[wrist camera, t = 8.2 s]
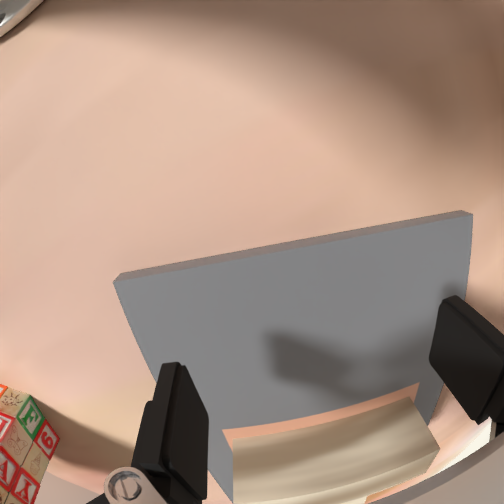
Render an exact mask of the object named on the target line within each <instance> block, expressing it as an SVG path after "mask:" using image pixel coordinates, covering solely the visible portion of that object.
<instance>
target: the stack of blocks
mask: <svg viewBox="0 0 504 504" xmlns="http://www.w3.org/2000/svg"><path fill="white" fill-rule="evenodd" d="M59 439H60V438H59V437H58V436H57V434H56V433H55V432H54V430H53V429H52V427H51V426H50V425H49V423H48V422H47V420H46V419H45V418H44V416H43V415H42V413H41V412H40V410H39V408H38V407H37V405H36V404H35V402H34V400H33V399H32V397H31V395H29V394H27V393H23V392H20V391H17V390H14V389H11V388H8V387H7V386H4V385H1V384H0V504H34V502H35V499H36V496H37V494H38V491H39V488H40V483H41V481H42V478H43V476H44V473H45V471H46V468H47V466H48V464H49V461H50V460H51V458H52V455H53V453H54V451H55V448H56V446H57V444H58V442H59Z"/></svg>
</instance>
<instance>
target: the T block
mask: <svg viewBox="0 0 504 504" xmlns="http://www.w3.org/2000/svg"><path fill="white" fill-rule="evenodd" d="M439 450H440V447H439V445H438V444H437V442H436V440H435V438H434V437H433V435H432V433H431V431H430V430H429V428H428V426H427V425H426V423H425V421H424V420H423V418H422V416H421V415H420V413H419V411H418V410H417V408H416V406H415V405H414V403H413V401H412V400H411V398H410V397H406V398H403V399H401V400H398V401H395V402H393V403H390V404H387V405H384V406H381V407H378V408H375V409H372V410H369V411H366V412H363V413H359V414H356V415H353V416H349V417H346V418H342V419H338V420H335V421H331V422H327V423H323V424H318V425H314V426H309V427H305V428H300V429H295V430H290V431H284V432H279V433H273V434H266V435H260V436H252V437H244V438H235V439H233V504H364V503H365V500H366V498H367V496H368V495H371V494H374V493H377V492H380V491H383V490H385V489H388V488H391V487H393V486H396V485H398V484H401V483H403V482H406V481H408V480H410V479H413V478H415V477H417V476H419V475H422V474H424V473H426V471H427V470H428V468H429V467H430V465H431V463H432V462H433V460H434V459H435V457H436V455H437V454H438V452H439Z"/></svg>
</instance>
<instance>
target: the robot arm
mask: <svg viewBox="0 0 504 504" xmlns="http://www.w3.org/2000/svg"><path fill="white" fill-rule="evenodd" d="M43 1H44V0H0V37H1V36H2V35H4V34H5V33H7V32H8V31H9V30H11V29H12V28H13V27H14V26H16V25H17V24H18V23H19V22H20V21H22V20H23V19H24V18H25V17H26V16H27V15H29V14H30V13H31V12H32V11H33V10H34V9H35V8H36V7H37V6H38V5H39V4H40V3H42V2H43ZM429 362H430V365H431V366H432V367H433V369H434V370H435V371H436V372H437V374H438V375H439V376H440V378H441V379H442V380H443V382H444V383H445V384H446V386H447V387H448V388H449V390H450V391H451V392H452V394H453V395H454V396H455V398H456V399H457V401H458V402H459V403H460V405H461V406H462V408H463V409H464V410H465V412H466V413H467V415H468V416H469V417H470V419H471V420H475V421H476V423H477V424H478V425H479V424H481V423H482V422H484V421H485V420H487V419H488V417H489V416H490V418H491V419H492V423H491V432H490V440H489V443H487V444H486V445H484V446H483V447H482V448H480V449H479V450H477V451H476V452H474V453H472V454H471V455H469V456H468V457H466V458H464V459H463V460H461V461H460V462H458V463H456V464H455V465H452V466H451V467H449V468H447V469H445V470H444V471H442V472H440V473H438V474H436V475H434V476H432V477H430V478H428V479H426V480H424V481H422V482H420V483H418V484H416V485H414V486H411V487H409V488H407V489H405V490H402V491H400V492H398V493H395V494H393V495H390V496H388V497H385V498H382V499H380V500H377V501H374V502H371V503H369V504H504V335H503V334H502V333H501V332H500V331H499V330H498V329H496V328H495V327H494V326H493V325H492V324H491V323H490V322H488V321H487V320H486V319H485V318H484V317H483V316H482V315H480V314H479V313H478V312H477V311H476V310H474V309H473V308H472V307H471V306H470V305H468V304H467V303H466V302H465V301H464V300H462V299H461V298H460V297H459V296H457V295H453V296H450V297H448V298H445V299H443V300H442V302H441V304H440V305H439V309H438V314H437V320H436V325H435V330H434V335H433V340H432V345H431V349H430V353H429ZM208 437H209V416H208V413H207V410H206V408H205V406H204V404H203V402H202V400H201V398H200V396H199V393H198V391H197V389H196V387H195V385H194V383H193V380H192V378H191V376H190V374H189V371H188V369H187V367H186V366H185V365H181V364H180V363H179V362H170V363H163V364H162V365H161V368H160V372H159V376H158V380H157V384H156V388H155V392H154V396H153V400H152V401H148V402H147V403H146V405H145V408H144V412H143V416H142V420H141V424H140V429H139V433H138V437H137V441H136V446H135V450H134V454H133V459H132V464H131V467H120V468H118V469H115V470H114V471H112V472H111V473H110V474H109V475H108V476H107V478H106V479H105V482H104V492H105V493H103V494H101V495H100V496H98V497H97V498H95V499H93V500H92V501H90V502H88V503H86V504H202V500H205V499H206V498H207V472H208Z"/></svg>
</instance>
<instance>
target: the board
mask: <svg viewBox="0 0 504 504" xmlns="http://www.w3.org/2000/svg"><path fill="white" fill-rule="evenodd" d="M472 226H473V214H471V213H468V212H465V211H462V210H460V211H455V212H449V213H444V214H438V215H433V216H427V217H421V218H416V219H410V220H405V221H399V222H394V223H389V224H383V225H378V226H372V227H367V228H361V229H356V230H350V231H345V232H339V233H334V234H329V235H323V236H318V237H312V238H307V239H302V240H296V241H291V242H285V243H280V244H275V245H269V246H264V247H259V248H253V249H248V250H243V251H237V252H232V253H227V254H221V255H216V256H211V257H205V258H200V259H195V260H189V261H184V262H179V263H173V264H168V265H163V266H158V267H152V268H147V269H142V270H137V271H131V272H126V273H121V274H120V275H119V276H118V277H117V278H116V279H115V280H114V281H113V284H114V287H115V289H116V292H117V295H118V297H119V300H120V303H121V305H122V308H123V310H124V313H125V315H126V318H127V320H128V323H129V325H130V327H131V330H132V332H133V334H134V337H135V339H136V341H137V344H138V346H139V348H140V350H141V352H142V354H143V357H144V359H145V361H146V363H147V365H148V367H149V369H150V371H151V373H152V375H153V377H154V379H155V381H156V383H157V380H158V376H159V372H160V368H161V365H162V364H163V363H170V362H179V363H180V364H181V365H185V366H186V367H187V369H188V371H189V374H190V376H191V378H192V380H193V383H194V385H195V387H196V389H197V391H198V393H199V396H200V398H201V400H202V402H203V404H204V406H205V408H206V410H207V413H208V416H209V437H208V470H209V472H210V473H211V475H212V476H213V477H214V479H215V480H216V482H217V483H218V484H219V486H220V487H221V488H222V490H223V491H224V492H225V494H226V495H227V496H228V498H229V499H230V500H231V501H232V503H233V439H235V438H244V437H252V436H260V435H266V434H273V433H279V432H284V431H290V430H295V429H300V428H305V427H309V426H314V425H318V424H323V423H327V422H331V421H335V420H338V419H342V418H346V417H349V416H353V415H356V414H359V413H363V412H366V411H369V410H372V409H375V408H378V407H381V406H384V405H387V404H390V403H393V402H395V401H398V400H401V399H403V398H406V397H410V398H411V400H412V401H413V403H414V405H415V406H416V408H417V410H418V411H419V413H420V415H421V416H422V418H423V420H424V421H425V423H426V425H427V426H428V424H429V422H430V419H431V417H432V414H433V412H434V409H435V407H436V404H437V401H438V399H439V396H440V393H441V390H442V387H443V384H444V382H443V380H442V379H441V378H440V376H439V375H438V374H437V372H436V371H435V370H434V369H433V367H432V366H431V365H430V362H429V353H430V349H431V345H432V340H433V335H434V330H435V325H436V320H437V314H438V309H439V305H440V304H441V302H442V300H443V299H445V298H448V297H450V296H453V295H457V296H459V297H460V298H461V299H462V300H464V301H465V295H466V288H467V281H468V274H469V265H470V256H471V243H472Z"/></svg>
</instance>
